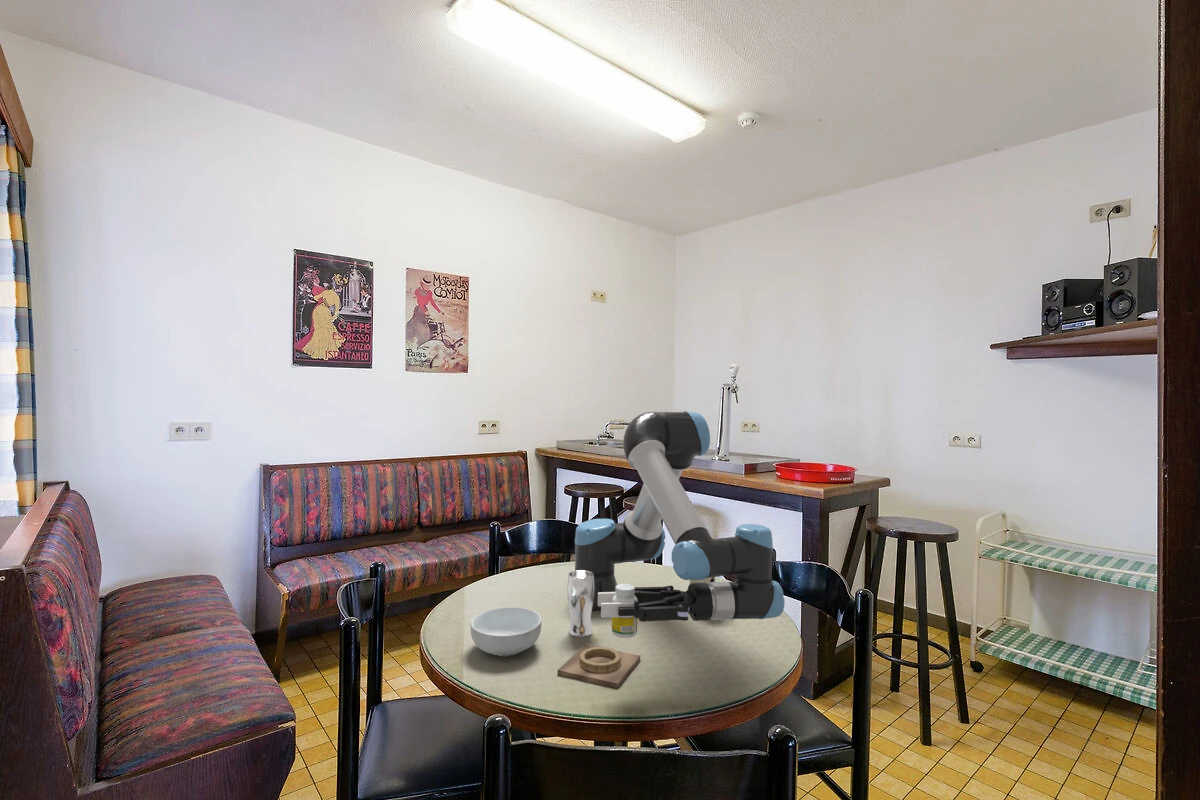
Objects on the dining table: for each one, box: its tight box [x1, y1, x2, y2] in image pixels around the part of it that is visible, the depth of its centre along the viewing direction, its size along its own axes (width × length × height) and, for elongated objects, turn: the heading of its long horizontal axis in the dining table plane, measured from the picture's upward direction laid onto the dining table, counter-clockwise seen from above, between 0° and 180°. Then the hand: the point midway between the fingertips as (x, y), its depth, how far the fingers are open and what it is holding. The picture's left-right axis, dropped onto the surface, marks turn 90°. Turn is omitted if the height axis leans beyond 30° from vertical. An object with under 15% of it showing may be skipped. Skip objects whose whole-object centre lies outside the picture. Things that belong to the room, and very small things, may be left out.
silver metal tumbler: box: [566, 570, 595, 638], centre depth 146 cm, size 7×7×15 cm
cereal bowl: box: [470, 606, 542, 657], centre depth 136 cm, size 17×17×7 cm
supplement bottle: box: [611, 583, 638, 639], centre depth 118 cm, size 5×5×10 cm
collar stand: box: [557, 644, 641, 689], centre depth 127 cm, size 14×14×2 cm
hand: (599, 604), depth 118 cm, fingers closed on supplement bottle, 5 cm apart
